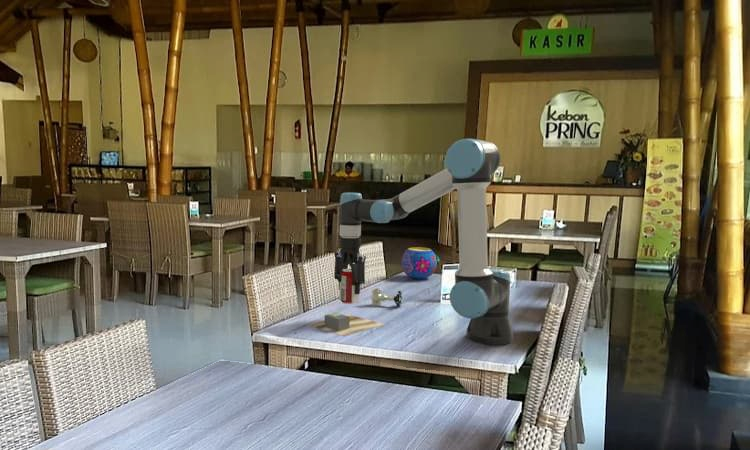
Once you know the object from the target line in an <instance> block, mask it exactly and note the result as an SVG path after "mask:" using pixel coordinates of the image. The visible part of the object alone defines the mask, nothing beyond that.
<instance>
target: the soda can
mask: <svg viewBox="0 0 750 450" xmlns="http://www.w3.org/2000/svg"><path fill="white" fill-rule="evenodd" d="M352 284H354V282H353V277H352V271H351V268H348V269H343V271H342V277H341V300H340V301H341V302H342V304H346V305H353V304H352Z"/></svg>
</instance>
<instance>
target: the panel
mask: <svg viewBox="0 0 750 450" xmlns="http://www.w3.org/2000/svg"><path fill="white" fill-rule="evenodd" d="M344 315H345V316H349V317H350V323H349V328H348V329H345V330H341V331H337V330H333V329H330V328H327V327H324V323H325V319H323V320H321V321H317V322H313V323H308V324H307V326H311V327H314V328H317V329H320V330H323V331H325V332H329V333H333V334H335V335H339V336H343V337H346V336H350V335H353V334H357V333H359V332H364V331H366V330H367V331H368V330H370V329H374V328H377V327H381V326H384V325H386V324H385V323H382V322H378V321H374V320H371V319H368V318H365V317H361V316H357V315H353V314H344Z"/></svg>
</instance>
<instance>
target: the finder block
mask: <svg viewBox="0 0 750 450" xmlns="http://www.w3.org/2000/svg"><path fill="white" fill-rule="evenodd" d="M345 315H346V314H341V313H338V312H332V313H329V314H324V320H325V323H324V327H327V328H330V329H333V330H337V331H341V330H345V329H348V328H349V323H350V317H349V316H345Z"/></svg>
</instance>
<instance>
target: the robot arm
mask: <svg viewBox="0 0 750 450" xmlns="http://www.w3.org/2000/svg"><path fill="white" fill-rule="evenodd" d="M501 161H502V160H501V152H500V150H499V148H498V147H497V146H496V145H495V144H494V143H493V142H491V141H488V140H483V139H482V140H481V139H476V138H468V137H467V138H462V139H459V140H457V141H455V142H454V143H452V144H451V146H450V147H449V148H448V150H447V152H446V154H445V161H444V162H445V167H446V168H444V169H443V170H441V171H439V172H437V173H435V174H433V175H432V176H429V177H428V178H426V179H425V180H423V181H421V182H419V183H418V184H416V185H414V186H412V187H410V188H408V189H406V190H404V191H402V192H401V193H399V194H397V195H395V196H394V197H392V198H387V199H386V198H385V199H364V198H363V197H362V193H360V192H343V193H341V195H340V203H339V234H338V235H339V236H340V237H339V240H338V241H339V243H338V245H339V249H340V250H339V251H335V252H334V275H333V277H334V280H336V281H337V282H338V292H339V299H338V300H339V301H341V277H342V271H343V269H349V267H350V269H351V271H352V277H353V282H354V284H352V304H351V305H353V304H358V303H359V300H360V299H359V296H360V293H361V285H362V284H364V285H365V283H366V273H365V272H366V271H365V270H366V268H365V267H366V266H365V265H366V264H365V263H366V259H367V257H366V255H362V254H361V253H360V248H361V247H362V245H361V244H362V243H361V242H362V241H361V240H362V238H361V235H362V222H371V223H377V224H387V223H389V222H391V221H395V220H401V219H404V218H406V217H407V216H408V215H409V214H410V213H412V212H413V211H415V210H419V208H422V207H423V206H425V205H427V204H429V203H431V202H433V201H436V200H437V199H439V198H441V197H443V196H445V195H446V194H449V193H451V192H452V191H454V190H456V191H457V193H456V194H457V217H458V218H457V223H458V224H457V225H458V226H457V227H458V251H459V253H458V255H459V256H458V257H459V259H458V260H459V261H458V262H459V267H458V269H457V270H456V271H455V272H454V285H453V286H452V287H451V289H450V290H449V291H450V292H449V302H450V305H451V307H452V308H453V310H454V311H455V312H456V313H457V314H458V315H459V316H461V317H463V318H466V319H470V320H469V322H468V325H467V327H466V334H465V335H466V339H468V340H470V341H471V342H473V343H474V342H475V343H477V344H482V345H489V346H490V345H492V346H500V345H507V344H510V343H512V342H513V341H514V331H513V328H512V325H511V322H510V316H509V313H510V312H509V311H510V295H511V294H510V292H511V283H512V282H511V275H510V273H509V272H508V271H506V270H500V269H493V268H492V269H491V268H489V263H488V262H489V261H488V226H487V225H488V224H487V223H488V221H487V188H488V186H490V184H492V183H491V182H492V181H491V179H492V178H491V177H492V175H493V174H495V172H497V170H498V169H499V167H500V164H501Z"/></svg>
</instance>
